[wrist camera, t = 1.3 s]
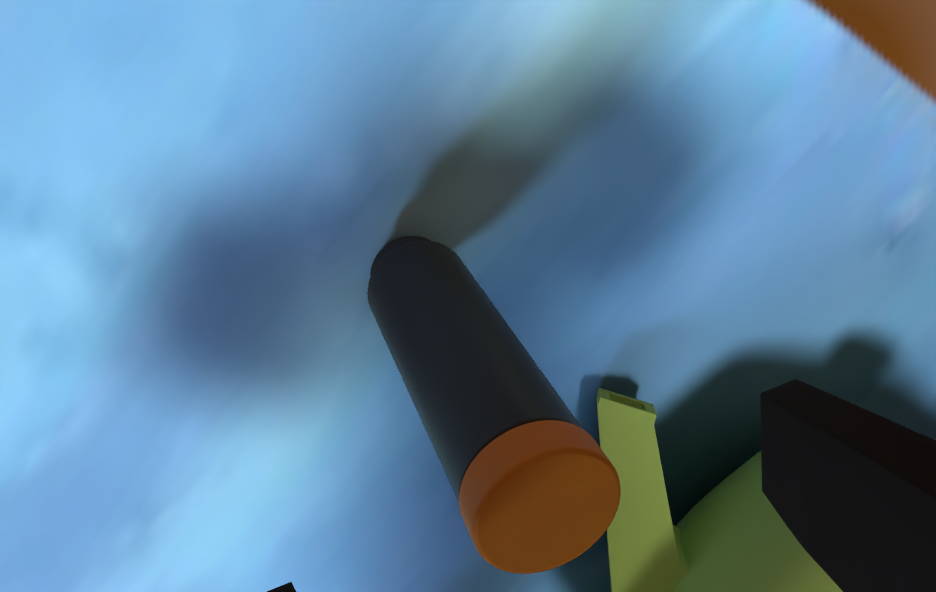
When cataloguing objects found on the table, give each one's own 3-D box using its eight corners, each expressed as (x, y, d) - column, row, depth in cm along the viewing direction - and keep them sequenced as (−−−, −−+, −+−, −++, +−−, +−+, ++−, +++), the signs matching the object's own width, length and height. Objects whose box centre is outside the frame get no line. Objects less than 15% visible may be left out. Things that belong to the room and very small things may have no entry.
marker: (458, 285, 21) (629, 540, 13) (366, 317, 20) (490, 597, 13) (438, 199, 20) (614, 427, 12) (339, 231, 19) (458, 487, 12)
